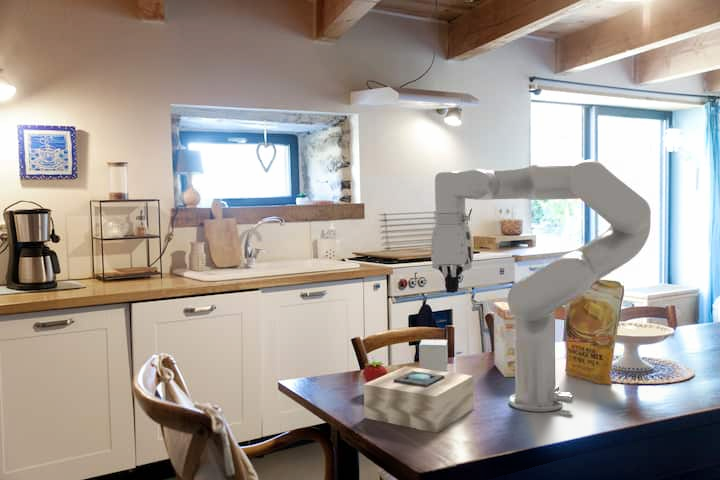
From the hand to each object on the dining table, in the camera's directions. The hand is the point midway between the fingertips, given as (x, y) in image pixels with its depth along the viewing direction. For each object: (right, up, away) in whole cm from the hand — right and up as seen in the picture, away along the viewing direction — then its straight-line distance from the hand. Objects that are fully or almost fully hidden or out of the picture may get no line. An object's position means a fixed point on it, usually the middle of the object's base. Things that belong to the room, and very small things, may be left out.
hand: (452, 291), depth 159 cm
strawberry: (-19, -28, +6) cm, 34 cm away
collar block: (-9, -28, -11) cm, 31 cm away
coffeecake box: (+21, -26, +25) cm, 41 cm away
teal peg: (-9, -26, -11) cm, 30 cm away
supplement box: (-3, -27, +9) cm, 29 cm away
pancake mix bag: (+41, -26, +15) cm, 50 cm away
